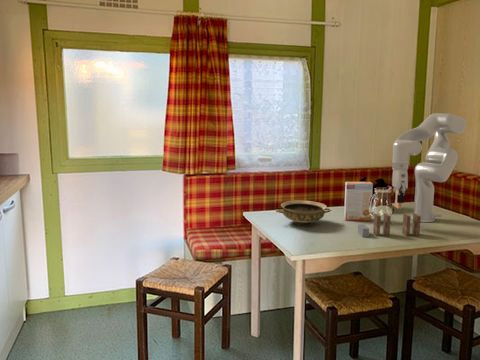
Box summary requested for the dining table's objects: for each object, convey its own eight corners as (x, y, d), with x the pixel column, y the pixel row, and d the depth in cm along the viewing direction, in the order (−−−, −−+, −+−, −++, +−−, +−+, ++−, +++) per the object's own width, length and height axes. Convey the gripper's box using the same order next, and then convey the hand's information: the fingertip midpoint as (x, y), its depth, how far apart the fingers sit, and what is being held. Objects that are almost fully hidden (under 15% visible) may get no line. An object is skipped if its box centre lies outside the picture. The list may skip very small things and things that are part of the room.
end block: (364, 232, 221) (364, 224, 220) (368, 236, 213) (369, 228, 212) (357, 232, 221) (358, 224, 220) (362, 236, 213) (362, 228, 212)
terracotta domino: (397, 206, 231) (398, 187, 229) (401, 208, 226) (402, 189, 224) (394, 206, 231) (395, 187, 229) (398, 208, 226) (399, 189, 224)
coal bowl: (396, 212, 262) (398, 180, 258) (365, 213, 258) (366, 181, 254) (379, 204, 281) (381, 175, 278) (349, 205, 277) (351, 176, 274)
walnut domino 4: (415, 233, 220) (416, 213, 218) (419, 236, 215) (420, 215, 213) (411, 233, 220) (413, 213, 218) (415, 236, 215) (417, 215, 213)
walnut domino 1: (376, 233, 219) (377, 213, 218) (379, 236, 215) (380, 215, 213) (373, 233, 219) (374, 213, 218) (376, 236, 215) (377, 215, 213)
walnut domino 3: (405, 233, 220) (406, 213, 218) (409, 236, 215) (410, 215, 213) (402, 233, 220) (403, 213, 218) (406, 236, 215) (407, 215, 213)
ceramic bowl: (279, 230, 223) (279, 211, 221) (271, 218, 247) (271, 200, 245) (337, 229, 226) (338, 209, 224) (324, 217, 250) (324, 199, 248)
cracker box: (369, 218, 247) (371, 181, 243) (371, 221, 241) (373, 183, 237) (343, 217, 248) (345, 180, 245) (345, 220, 242) (346, 182, 239)
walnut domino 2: (386, 233, 220) (387, 213, 218) (389, 236, 215) (390, 215, 213) (382, 233, 220) (384, 213, 218) (386, 236, 215) (387, 215, 213)
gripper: (414, 168, 216) (412, 205, 220) (401, 163, 233) (399, 197, 236) (398, 169, 216) (396, 205, 220) (387, 163, 233) (385, 197, 236)
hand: (398, 200), depth 228 cm, fingers closed on terracotta domino, 4 cm apart
